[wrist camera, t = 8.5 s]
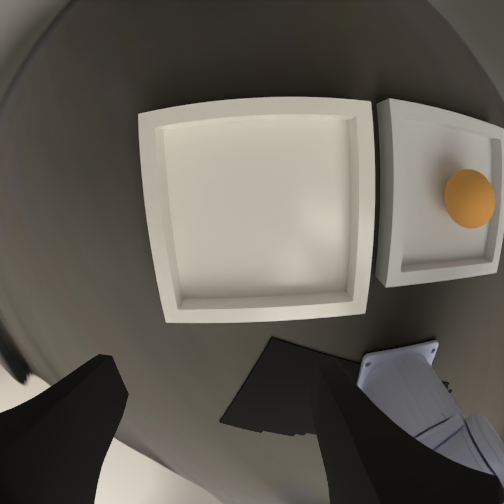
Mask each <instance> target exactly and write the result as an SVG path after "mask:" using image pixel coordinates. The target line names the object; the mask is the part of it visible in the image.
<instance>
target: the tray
mask: <svg viewBox="0 0 504 504" xmlns="http://www.w3.org/2000/svg"><path fill="white" fill-rule="evenodd" d="M376 105H377V116H378V129H379V148H380V216H379V235H378V249H377V260H376V270H375V276H376V278H377V279H378V280H379V281H380V282H381V283H382V284H383V285H384V286H385V287H396V286H405V285H414V284H422V283H430V282H438V281H445V280H452V279H459V278H466V277H473V276H479V275H486V274H492V273H496V272H497V268H498V263H499V258H500V253H501V247H502V241H503V234H504V129H503V128H500V127H498V126H495V125H492V124H490V123H487V122H484V121H481V120H478V119H475V118H472V117H469V116H465V115H462V114H459V113H455V112H451V111H448V110H444V109H440V108H436V107H432V106H427V105H423V104H418V103H413V102H408V101H403V100H397V99H391V98H389V99H386V100H384V101H382V102H380V103H377V104H376ZM463 169H472V170H476V171H478V172H480V173H481V174H483V175H484V176H485V177H486V178H487V179H488V181H489V182H490V184H491V186H492V188H493V191H494V195H495V208H494V212H493V214H492V216H491V218H490V219H489V221H488V222H487V223H486V224H484V225H483V226H481V227H478V228H474V229H470V228H465V227H462V226H460V225H459V224H457V223H456V222H455V221H454V220H453V219H452V218H451V216H450V215H449V213H448V211H447V209H446V206H445V201H444V192H445V187H446V184H447V182H448V180H449V179H450V177H451V176H452V175H453V174H454V173H456V172H457V171H460V170H463Z"/></svg>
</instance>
